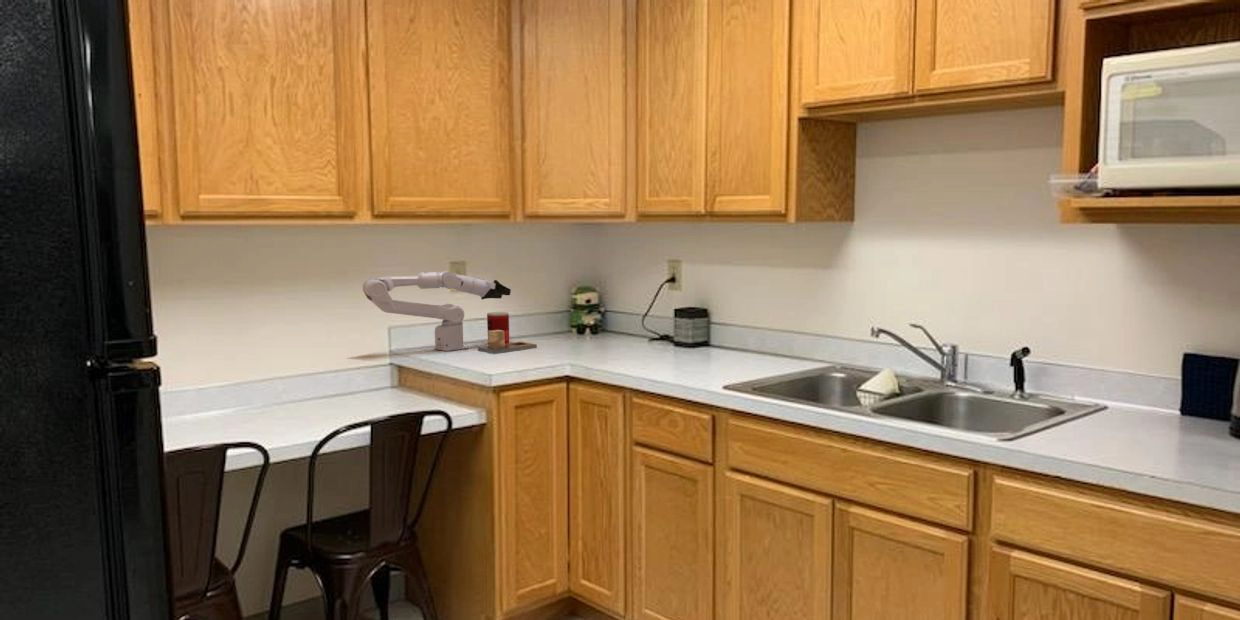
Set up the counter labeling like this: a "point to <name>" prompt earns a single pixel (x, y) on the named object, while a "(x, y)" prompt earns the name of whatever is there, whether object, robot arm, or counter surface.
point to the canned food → (499, 323)
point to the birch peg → (496, 339)
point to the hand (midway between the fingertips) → (505, 294)
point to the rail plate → (508, 347)
